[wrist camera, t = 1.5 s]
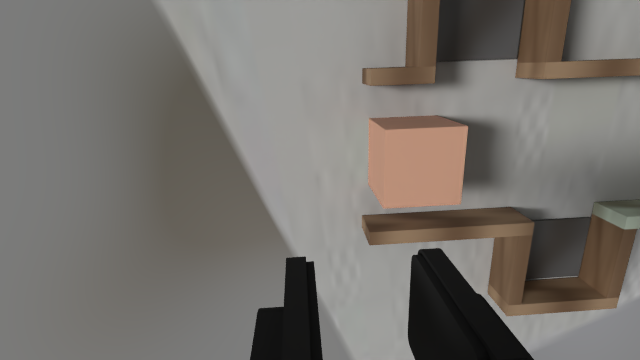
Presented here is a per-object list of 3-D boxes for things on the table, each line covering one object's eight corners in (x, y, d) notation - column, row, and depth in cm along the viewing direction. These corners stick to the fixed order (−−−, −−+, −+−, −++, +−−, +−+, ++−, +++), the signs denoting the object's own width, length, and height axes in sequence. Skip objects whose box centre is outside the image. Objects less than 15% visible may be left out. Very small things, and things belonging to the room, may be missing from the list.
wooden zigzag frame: (362, 301, 30) (368, 326, 28) (362, -49, 22) (372, -65, 20) (657, 281, 32) (692, 302, 29) (756, -56, 24) (819, -73, 21)
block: (368, 183, 27) (383, 208, 23) (368, 118, 26) (385, 129, 21) (432, 180, 28) (460, 204, 23) (436, 115, 26) (468, 126, 21)
